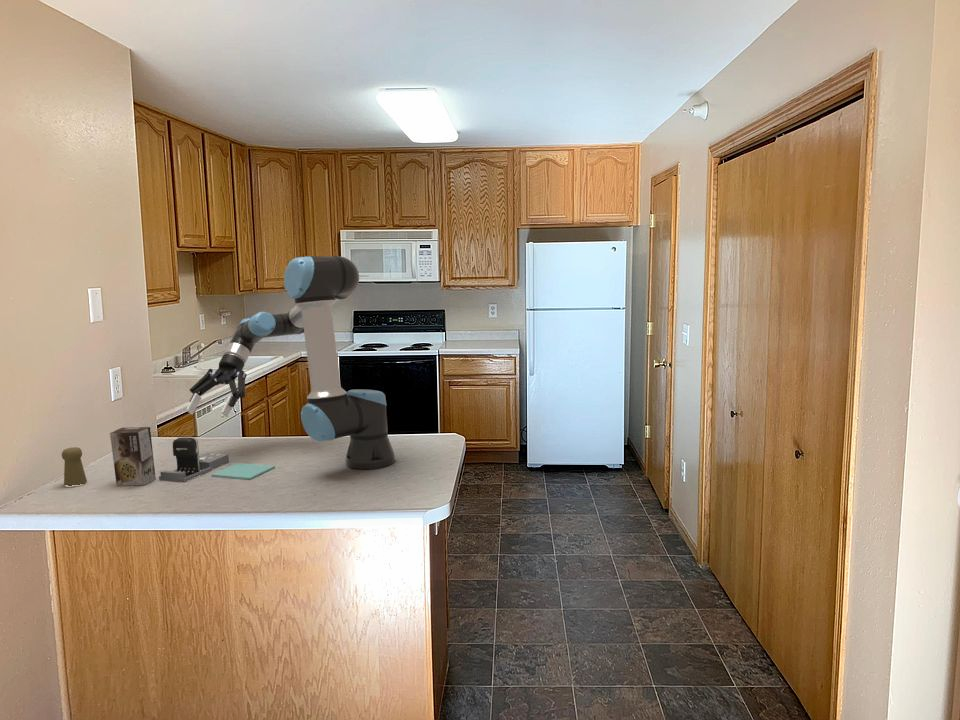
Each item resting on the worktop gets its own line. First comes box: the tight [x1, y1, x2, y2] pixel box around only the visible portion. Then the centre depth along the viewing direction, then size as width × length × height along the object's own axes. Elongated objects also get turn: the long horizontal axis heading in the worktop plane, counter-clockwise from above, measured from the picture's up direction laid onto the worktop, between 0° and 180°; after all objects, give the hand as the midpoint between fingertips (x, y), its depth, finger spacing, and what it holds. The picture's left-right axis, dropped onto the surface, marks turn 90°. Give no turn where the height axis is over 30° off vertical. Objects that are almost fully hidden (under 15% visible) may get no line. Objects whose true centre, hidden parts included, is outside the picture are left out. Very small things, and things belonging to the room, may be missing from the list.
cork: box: [61, 446, 88, 486], centre depth 204 cm, size 6×6×11 cm
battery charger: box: [172, 436, 201, 476], centre depth 210 cm, size 7×4×11 cm, turn 83°
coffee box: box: [109, 426, 157, 486], centre depth 203 cm, size 9×6×16 cm
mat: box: [211, 462, 276, 481], centre depth 211 cm, size 14×12×1 cm
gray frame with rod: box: [158, 452, 230, 483], centre depth 215 cm, size 19×20×3 cm
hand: (206, 413), depth 218 cm, fingers open, 13 cm apart
